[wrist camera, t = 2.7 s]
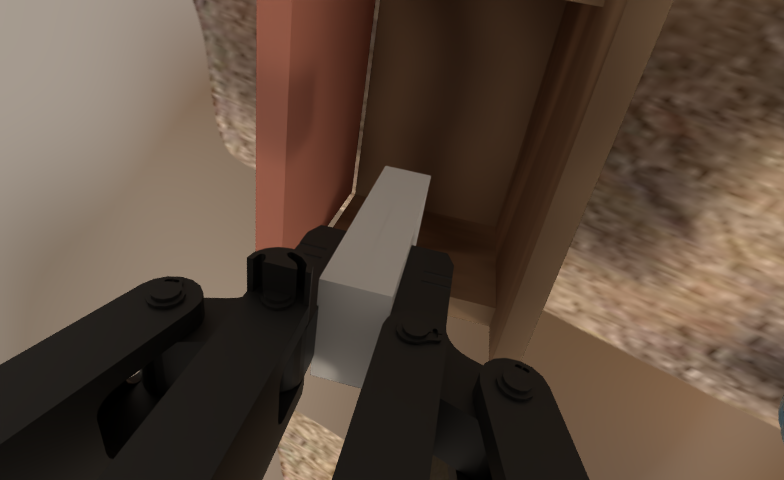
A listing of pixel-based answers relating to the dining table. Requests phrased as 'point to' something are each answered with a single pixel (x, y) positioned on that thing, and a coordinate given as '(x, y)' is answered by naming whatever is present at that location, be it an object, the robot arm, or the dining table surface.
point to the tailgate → (307, 112)
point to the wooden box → (502, 135)
